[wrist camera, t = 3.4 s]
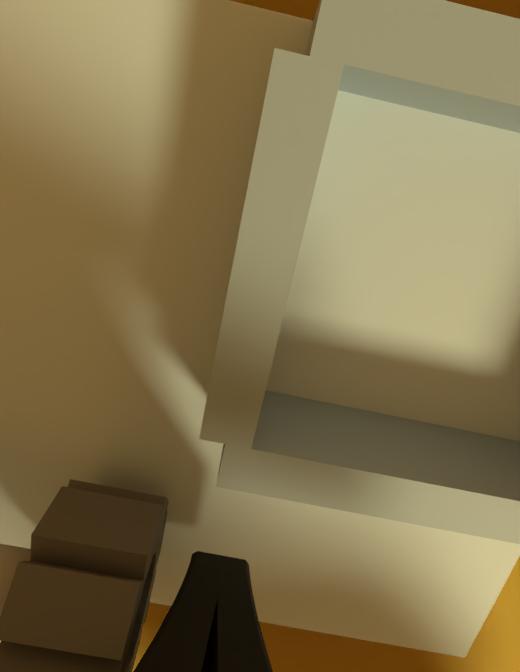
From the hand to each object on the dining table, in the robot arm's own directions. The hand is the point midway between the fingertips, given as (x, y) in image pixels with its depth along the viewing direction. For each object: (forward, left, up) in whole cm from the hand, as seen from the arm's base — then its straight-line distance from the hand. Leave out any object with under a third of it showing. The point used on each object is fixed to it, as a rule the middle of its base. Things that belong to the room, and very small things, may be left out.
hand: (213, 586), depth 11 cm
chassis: (+4, 0, -3) cm, 5 cm away
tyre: (0, +3, -1) cm, 3 cm away
